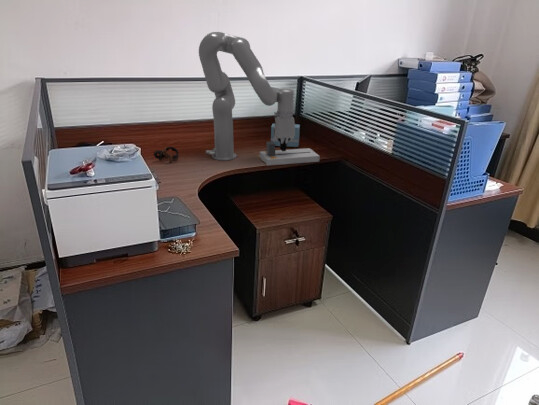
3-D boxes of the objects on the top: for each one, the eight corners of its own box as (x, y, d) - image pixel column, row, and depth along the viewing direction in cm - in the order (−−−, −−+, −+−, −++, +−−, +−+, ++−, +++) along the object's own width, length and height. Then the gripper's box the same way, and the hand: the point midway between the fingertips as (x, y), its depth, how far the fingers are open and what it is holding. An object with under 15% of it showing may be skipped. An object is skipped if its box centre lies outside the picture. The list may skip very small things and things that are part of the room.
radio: (298, 144, 229) (300, 109, 221) (298, 148, 221) (300, 113, 213) (272, 142, 231) (272, 108, 222) (270, 147, 222) (271, 112, 214)
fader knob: (269, 155, 196) (269, 144, 193) (266, 153, 200) (266, 141, 198) (275, 155, 197) (275, 143, 194) (272, 152, 201) (272, 141, 198)
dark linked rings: (173, 157, 203) (177, 145, 198) (177, 170, 198) (182, 158, 193) (150, 154, 196) (154, 142, 192) (153, 167, 191) (158, 155, 186)
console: (266, 165, 193) (267, 159, 191) (259, 157, 205) (259, 151, 204) (319, 161, 200) (319, 155, 199) (309, 153, 212) (309, 148, 211)
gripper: (272, 116, 187) (271, 153, 194) (301, 115, 191) (299, 151, 198) (268, 113, 193) (267, 149, 201) (296, 112, 197) (294, 147, 205)
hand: (283, 150), depth 200 cm, fingers closed
